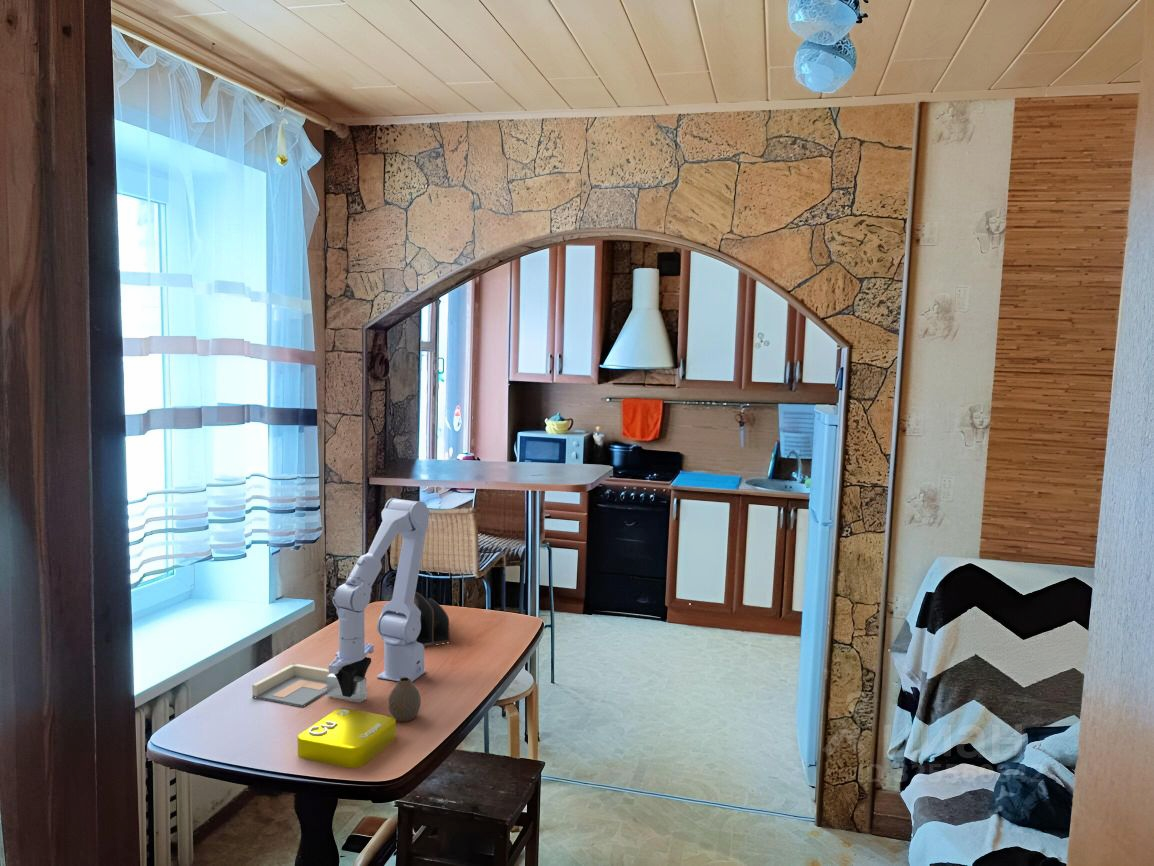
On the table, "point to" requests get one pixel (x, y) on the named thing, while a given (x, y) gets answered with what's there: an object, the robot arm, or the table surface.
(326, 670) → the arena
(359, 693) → the bracket
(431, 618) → the letter holder
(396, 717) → the vase
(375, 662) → the table surface
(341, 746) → the element tile
